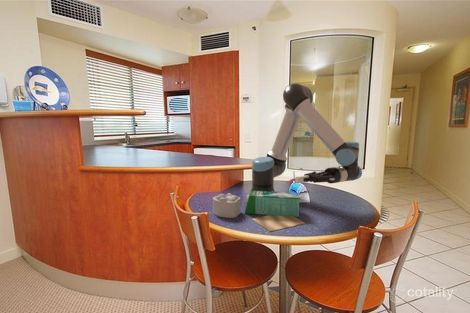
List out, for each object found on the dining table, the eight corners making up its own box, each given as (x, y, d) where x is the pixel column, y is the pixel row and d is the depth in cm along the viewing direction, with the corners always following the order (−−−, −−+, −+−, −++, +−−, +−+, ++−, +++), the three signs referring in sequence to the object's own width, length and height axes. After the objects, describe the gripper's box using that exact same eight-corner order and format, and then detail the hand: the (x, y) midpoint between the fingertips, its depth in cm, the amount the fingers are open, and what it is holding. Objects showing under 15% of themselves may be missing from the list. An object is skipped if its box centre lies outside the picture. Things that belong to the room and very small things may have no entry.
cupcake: (285, 188, 159) (286, 170, 158) (296, 187, 163) (296, 169, 161) (293, 192, 152) (294, 173, 150) (304, 190, 155) (305, 171, 153)
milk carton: (299, 198, 110) (244, 195, 115) (298, 217, 111) (244, 213, 116) (298, 192, 119) (246, 190, 123) (297, 210, 120) (246, 207, 125)
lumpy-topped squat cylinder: (234, 218, 110) (234, 200, 109) (208, 214, 115) (208, 196, 114) (242, 211, 120) (242, 193, 118) (218, 207, 124) (218, 191, 123)
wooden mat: (284, 212, 117) (284, 212, 117) (305, 223, 105) (305, 222, 105) (252, 219, 109) (252, 218, 109) (269, 231, 97) (269, 231, 97)
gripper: (325, 165, 124) (287, 169, 114) (346, 169, 113) (307, 174, 102) (324, 179, 125) (287, 184, 115) (345, 185, 114) (306, 192, 103)
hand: (296, 180), depth 109 cm, fingers closed
